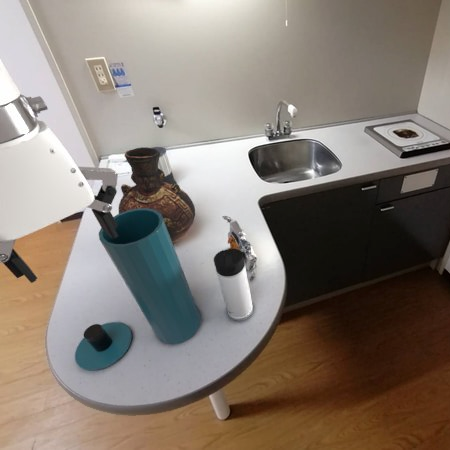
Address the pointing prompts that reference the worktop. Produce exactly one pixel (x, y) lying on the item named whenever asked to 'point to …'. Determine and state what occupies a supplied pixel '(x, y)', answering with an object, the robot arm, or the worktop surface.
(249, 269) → the meal
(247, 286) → the travel mug
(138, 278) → the teal faceted tube
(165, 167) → the milk frother
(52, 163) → the robot arm
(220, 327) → the worktop surface
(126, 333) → the lid
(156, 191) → the ceramic vessel
